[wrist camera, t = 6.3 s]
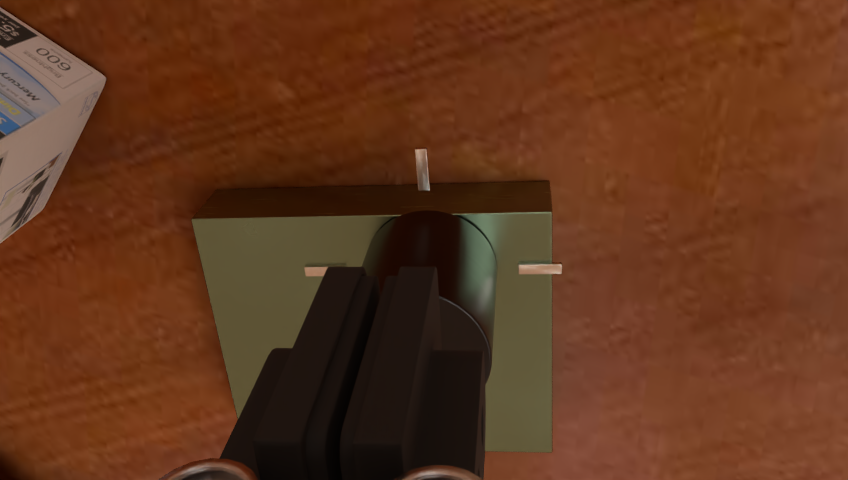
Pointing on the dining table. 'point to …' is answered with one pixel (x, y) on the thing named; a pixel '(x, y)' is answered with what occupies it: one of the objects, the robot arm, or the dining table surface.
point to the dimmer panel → (346, 247)
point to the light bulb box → (37, 117)
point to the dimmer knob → (444, 273)
